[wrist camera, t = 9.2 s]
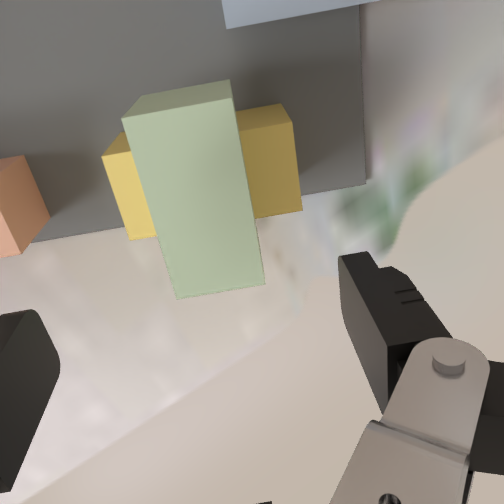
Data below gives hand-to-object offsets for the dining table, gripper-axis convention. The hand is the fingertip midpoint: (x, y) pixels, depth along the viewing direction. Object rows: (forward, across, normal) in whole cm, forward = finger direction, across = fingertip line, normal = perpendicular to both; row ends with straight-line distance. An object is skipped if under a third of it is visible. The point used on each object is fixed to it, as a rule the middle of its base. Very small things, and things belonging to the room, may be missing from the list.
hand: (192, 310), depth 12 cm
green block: (+9, 0, -1) cm, 9 cm away
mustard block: (+13, 0, 0) cm, 13 cm away
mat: (+13, +3, -4) cm, 14 cm away
